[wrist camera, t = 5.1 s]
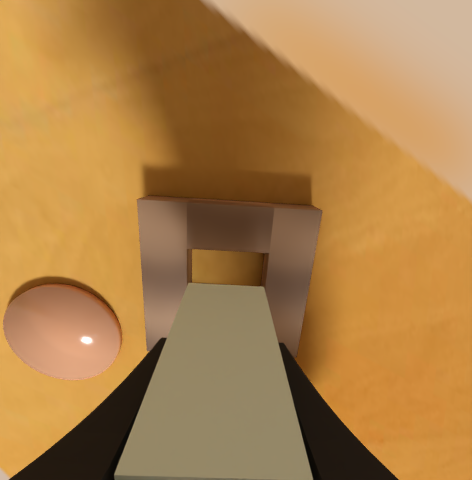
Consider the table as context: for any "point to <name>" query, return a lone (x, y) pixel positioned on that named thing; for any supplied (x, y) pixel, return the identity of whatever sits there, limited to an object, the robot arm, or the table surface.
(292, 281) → the block
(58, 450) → the robot arm
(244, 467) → the peg
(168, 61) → the table surface
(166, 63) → the table surface
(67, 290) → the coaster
